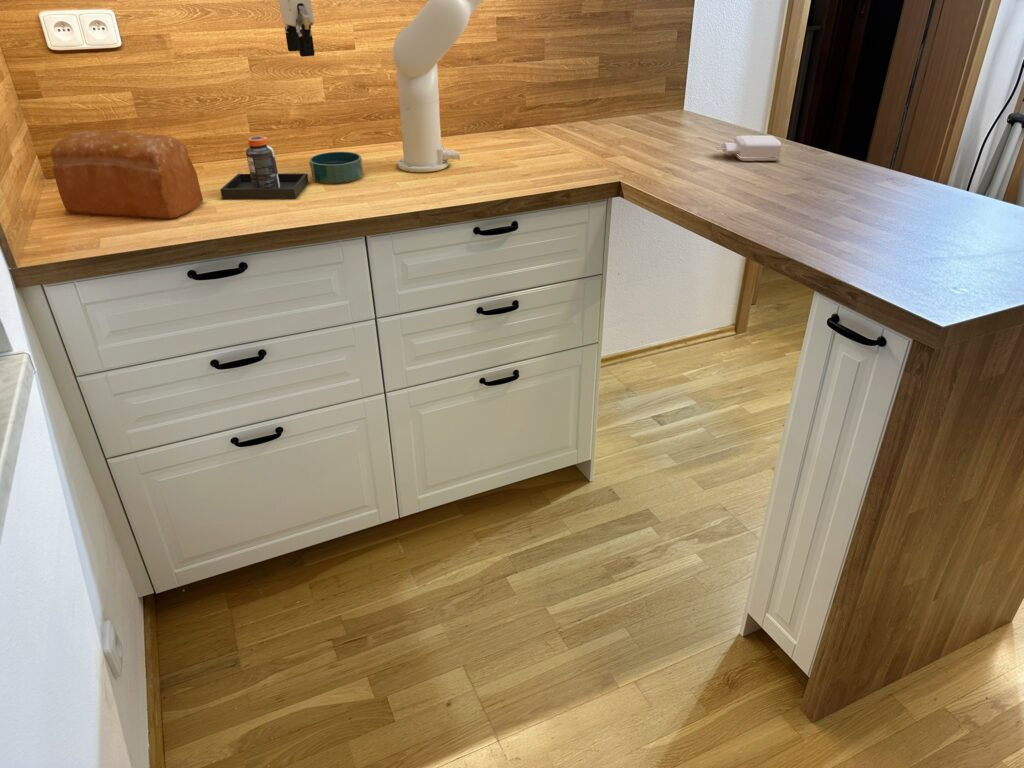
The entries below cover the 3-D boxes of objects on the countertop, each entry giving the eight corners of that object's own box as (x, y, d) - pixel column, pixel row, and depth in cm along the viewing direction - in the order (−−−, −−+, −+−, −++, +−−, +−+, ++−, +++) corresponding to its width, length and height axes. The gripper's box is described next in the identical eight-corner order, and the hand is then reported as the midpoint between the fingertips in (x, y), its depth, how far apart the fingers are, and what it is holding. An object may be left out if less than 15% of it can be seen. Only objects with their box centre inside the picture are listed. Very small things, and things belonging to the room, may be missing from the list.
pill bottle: (284, 185, 168) (275, 134, 162) (274, 193, 163) (265, 141, 157) (259, 184, 168) (249, 134, 162) (248, 192, 163) (238, 140, 157)
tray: (308, 182, 171) (307, 173, 170) (295, 198, 161) (294, 189, 160) (239, 182, 171) (237, 173, 170) (222, 199, 161) (220, 189, 160)
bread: (102, 195, 164) (79, 122, 155) (209, 201, 160) (192, 127, 151) (59, 215, 152) (32, 137, 144) (173, 222, 148) (153, 143, 140)
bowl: (367, 170, 180) (365, 151, 177) (358, 184, 170) (356, 165, 167) (318, 170, 180) (315, 151, 177) (306, 184, 170) (303, 165, 167)
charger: (710, 152, 192) (768, 152, 192) (718, 162, 184) (778, 162, 184) (713, 134, 190) (771, 134, 190) (721, 143, 182) (782, 143, 182)
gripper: (317, -32, 153) (329, 56, 162) (294, -35, 166) (306, 48, 175) (282, -31, 150) (295, 59, 159) (261, -34, 163) (275, 50, 172)
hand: (301, 53), depth 167 cm, fingers open, 9 cm apart
